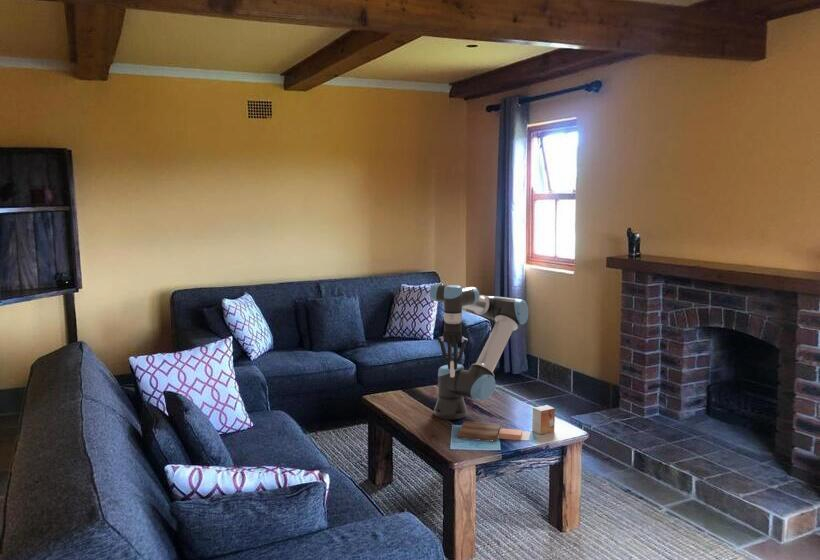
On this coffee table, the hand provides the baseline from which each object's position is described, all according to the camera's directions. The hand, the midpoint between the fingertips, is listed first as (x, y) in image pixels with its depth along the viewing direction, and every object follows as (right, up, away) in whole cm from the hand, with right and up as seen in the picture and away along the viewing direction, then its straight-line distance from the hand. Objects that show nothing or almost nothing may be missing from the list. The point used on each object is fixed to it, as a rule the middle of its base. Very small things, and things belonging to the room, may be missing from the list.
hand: (452, 376), depth 283 cm
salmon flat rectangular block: (+24, -25, -3) cm, 35 cm away
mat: (+26, -25, -1) cm, 36 cm away
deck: (+12, -25, 0) cm, 27 cm away
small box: (+39, -24, +3) cm, 46 cm away
